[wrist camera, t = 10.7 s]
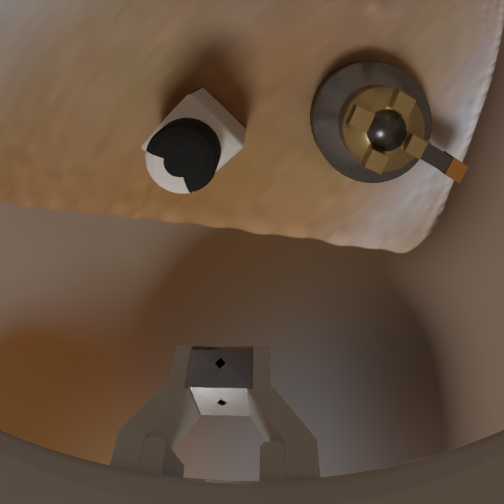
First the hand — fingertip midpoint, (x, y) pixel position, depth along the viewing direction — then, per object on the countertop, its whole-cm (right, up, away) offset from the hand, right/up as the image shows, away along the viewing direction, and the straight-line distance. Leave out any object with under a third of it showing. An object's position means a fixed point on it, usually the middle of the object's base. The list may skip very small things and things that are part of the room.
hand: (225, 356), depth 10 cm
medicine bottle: (-5, +17, +24) cm, 30 cm away
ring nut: (+18, +16, +21) cm, 31 cm away
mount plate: (+14, +19, +22) cm, 32 cm away
